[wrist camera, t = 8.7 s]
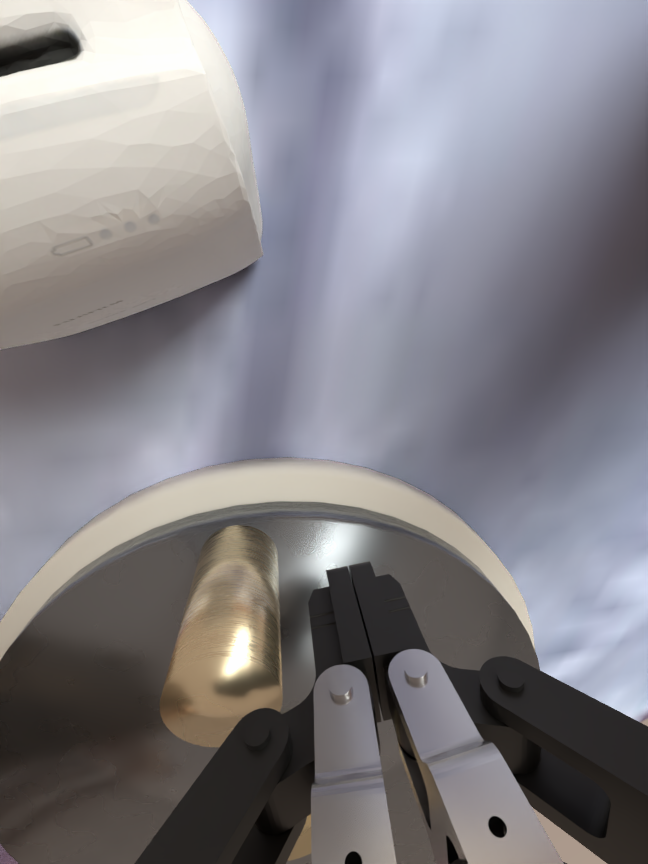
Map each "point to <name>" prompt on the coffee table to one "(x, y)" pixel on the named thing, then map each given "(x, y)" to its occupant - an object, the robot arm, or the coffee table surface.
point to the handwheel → (206, 668)
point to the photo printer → (116, 163)
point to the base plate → (250, 487)
